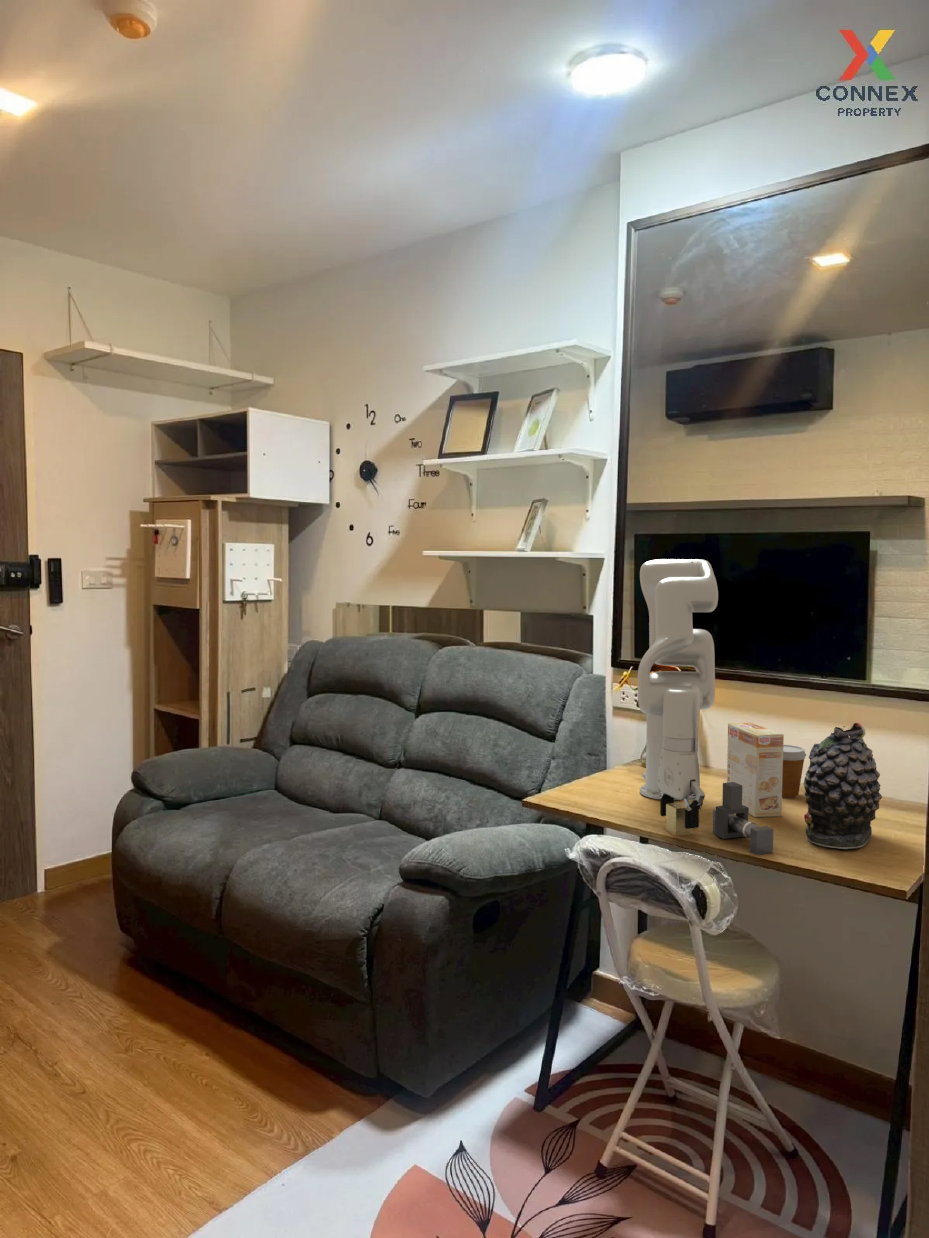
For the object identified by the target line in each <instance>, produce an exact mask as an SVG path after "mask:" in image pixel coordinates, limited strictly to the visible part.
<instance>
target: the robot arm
mask: <svg viewBox="0 0 929 1238" xmlns="http://www.w3.org/2000/svg"><path fill="white" fill-rule="evenodd" d="M639 581H640V587H641V592H642V594H643V597H644V600H645V602H646V605H647V609H648V616H649V618H648V619H649V622H648V626H649V627H648V628H649V629H648V631H649V633H648V634H649V637H648V638H649V639H648V640H649V643H648V645H649V648H648V650H646V652H645V653H644V655H643V656H642V658H641V660H640V662H639V665H638V669H637V701H638V702H637V703H638V708H639V710H640V711H641V712H642V713H643V714H644V715H645V716H646V745H645V746H646V753H645V755H646V761H645V763H646V764H645V767H646V769H645V772H643V773H642V775H641V777H642V778H643V779H645V784H642V785H641V786H640V787H639V793H640V794H641V795H642V796H644V797H646V798H650V799H654V800H659V801H660V802H659V803H660V806H659V807H660V809H659V810H660V811H659V813H660V814H659V815H660V816H661V817H666V804H669V803H675V801H682V800H683V803H685V805H686V808H687V810H685V828H686V829H691V828H692V829H698V828H699V827H700V811H701V809H702V807H703V804H704V799H705V797H706V793H705V792H704V791H703V789H702V787H701V786H700V785H701V776H700V775H701V774H700V764H699V763H700V762H699V757H698V756H699V755H698V753H699V711H700V710H708V709H710V708H711V707H712V706H713V705H714V704H715V703H714V702H715V697H716V672H715V671H716V669H715V667H716V666H715V662H716V661H715V659H716V658H715V657H716V656H715V643H714V639H713V636H712V634H711V633H710V632H709V631H708V630H706V629H702V628H694V627H693V625H694V624H693V623H694V622H693V613H712V612H714V611H715V609H716V608H717V607H718V601H719V590H718V583H717V579H716V576H715V574H714V570H713V568H712V564H711V563H710V562H709V561H708V560H705V559H698V558H695V559H692V558H691V559H690V558H689V559H684V558H681V559H680V558H677V559H676V558H668V559H667V558H660V559H659V558H658V559H652V560H648V561H646V562H644V563H643V564H642V565H641V566H640V570H639ZM654 664H655V665H658V666H668V667H693V668H694V669H695V671H680V670H677V671H676V670H670V671H668V670H662V671H653V672H651V669H652V667H653V666H654ZM691 801H692V802H691Z"/></svg>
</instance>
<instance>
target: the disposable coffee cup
mask: <svg viewBox="0 0 929 1238" xmlns="http://www.w3.org/2000/svg"><path fill="white" fill-rule="evenodd" d="M806 757H807V753H806V751H805V748H803V747H801V746H798V745H792V744H791V745H790V744H783V777H782V798H785V799H792V798H793V799H794V798H797V797H799V794H800V787H801V782H802V781H801V780H802V775H803V770H804V769H803V768H804V762H805V759H806Z"/></svg>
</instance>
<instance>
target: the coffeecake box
mask: <svg viewBox="0 0 929 1238" xmlns="http://www.w3.org/2000/svg"><path fill="white" fill-rule="evenodd" d="M784 736H785V735H784V734H783V733H780V732H777V731H776V730H772V729H770V728H768V727H764V726H762V725H760V724H757V723H754V722H731V723H729V722H727V755H726V756H727V759H726V760H727V761H726V764H727V765H726V783H728V782H735V783H738V784H740V785H742V805H744V806H746V807H748V808H749V812H748V815H751V816H752V817H754V818H767V817H768V818H771V817H773V818H774V817H783V815H782V809H783V808H782V807H783V797H782V777H783V745H784V739H785V738H784Z"/></svg>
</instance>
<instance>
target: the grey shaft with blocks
mask: <svg viewBox="0 0 929 1238" xmlns="http://www.w3.org/2000/svg"><path fill="white" fill-rule="evenodd" d="M715 813H716V809H713V810H712V833H713V834H715ZM728 828H731V829H733V830H735V831H737V832H739V833H741V834H743V835H744V836H743V837H746V838H747V839H750V841H749V852H750V853H752V854H753V855H755V856H758V855H765V854H766V855H768V854H773V853H774V851H773V850H774V849H773V847H774V828H772V827H770V826H768V825H766V826H765V825H764V826H759V825H757V824H756V823H755V822H753V821H749V820H748V821H747V820H745V819H743V818H740V817H738V816H736V814H728Z"/></svg>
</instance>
